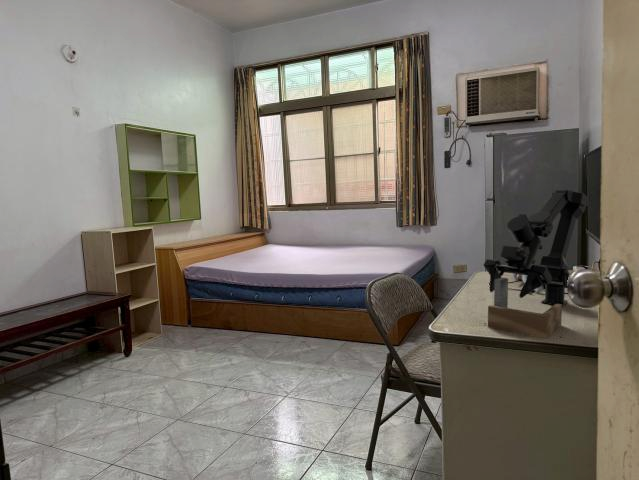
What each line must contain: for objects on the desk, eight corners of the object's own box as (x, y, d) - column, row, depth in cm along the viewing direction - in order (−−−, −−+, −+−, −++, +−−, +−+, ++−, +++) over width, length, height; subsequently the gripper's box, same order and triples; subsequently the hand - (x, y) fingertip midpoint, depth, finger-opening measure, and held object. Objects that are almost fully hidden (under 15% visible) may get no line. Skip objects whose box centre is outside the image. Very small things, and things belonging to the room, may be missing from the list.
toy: (519, 281, 159) (508, 256, 187) (518, 302, 162) (507, 275, 189) (549, 282, 157) (534, 257, 184) (548, 304, 159) (532, 276, 187)
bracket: (501, 319, 128) (502, 277, 127) (527, 325, 122) (528, 281, 121) (493, 321, 126) (494, 279, 124) (519, 328, 120) (521, 283, 118)
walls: (506, 315, 134) (506, 296, 133) (561, 325, 123) (562, 304, 122) (487, 326, 123) (488, 306, 123) (545, 338, 113) (546, 316, 112)
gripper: (486, 233, 135) (465, 273, 130) (548, 237, 120) (526, 283, 115) (500, 254, 141) (480, 294, 136) (560, 261, 126) (540, 306, 121)
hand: (505, 294), depth 127 cm, fingers open, 9 cm apart
